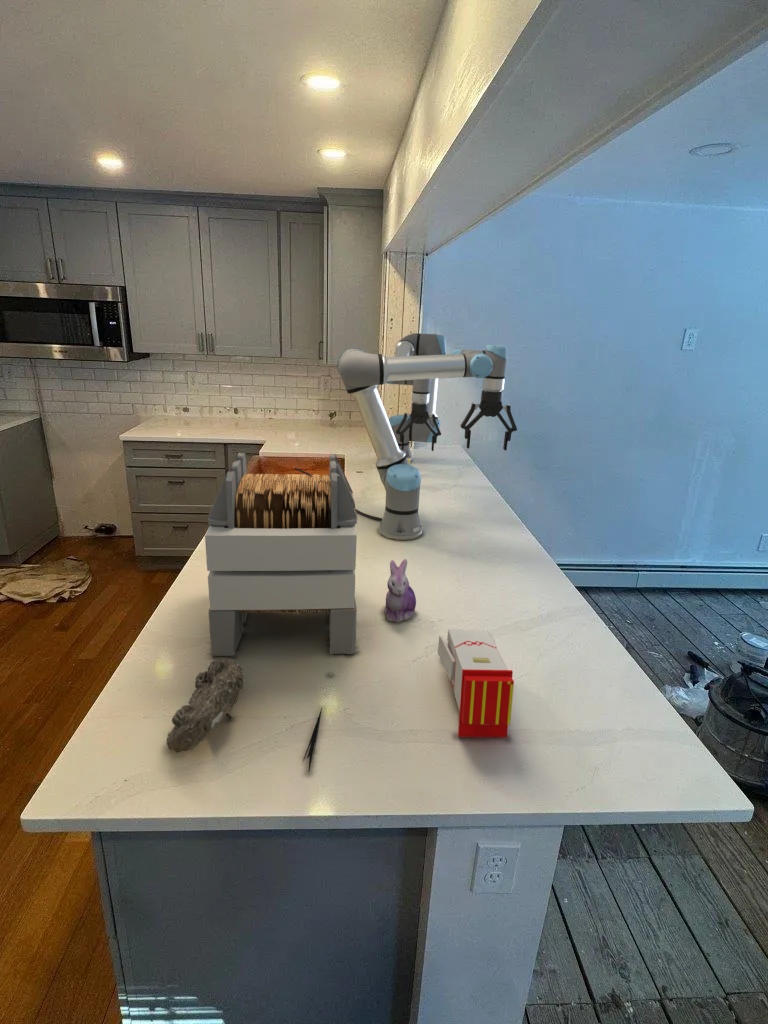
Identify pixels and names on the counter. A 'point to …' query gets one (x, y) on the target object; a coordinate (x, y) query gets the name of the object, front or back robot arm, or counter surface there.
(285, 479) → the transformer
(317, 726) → the feather
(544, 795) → the counter surface
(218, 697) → the fossil
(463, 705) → the toy
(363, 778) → the counter surface
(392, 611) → the figurine
